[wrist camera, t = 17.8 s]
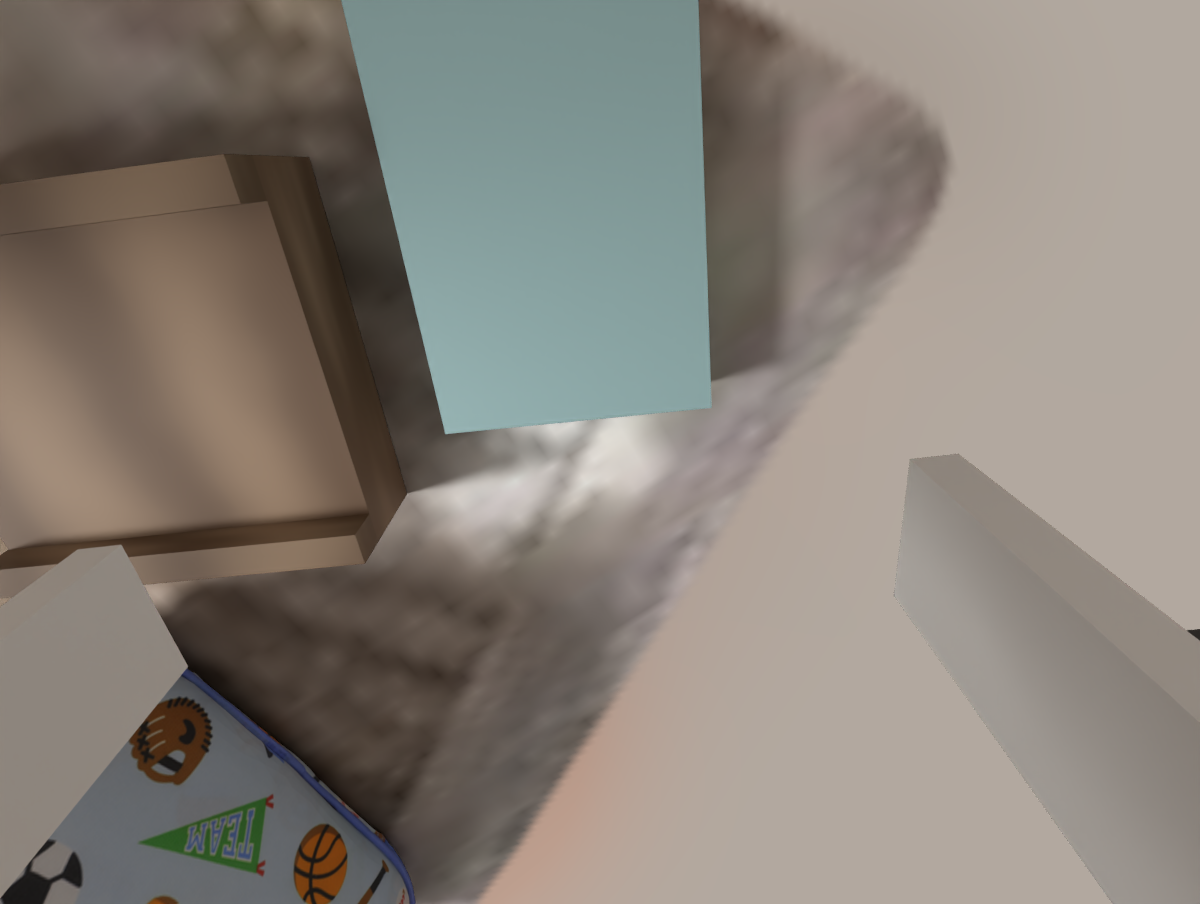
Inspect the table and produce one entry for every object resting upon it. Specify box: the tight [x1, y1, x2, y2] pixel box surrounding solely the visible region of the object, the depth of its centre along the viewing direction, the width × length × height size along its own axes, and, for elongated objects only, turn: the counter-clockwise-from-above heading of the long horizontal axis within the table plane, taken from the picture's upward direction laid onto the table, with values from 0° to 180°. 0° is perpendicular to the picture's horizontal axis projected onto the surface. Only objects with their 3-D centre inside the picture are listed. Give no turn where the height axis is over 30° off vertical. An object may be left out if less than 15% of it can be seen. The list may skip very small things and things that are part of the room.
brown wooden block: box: [0, 154, 407, 598], centre depth 21 cm, size 14×13×5 cm
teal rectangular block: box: [341, 0, 712, 434], centre depth 20 cm, size 14×10×3 cm
